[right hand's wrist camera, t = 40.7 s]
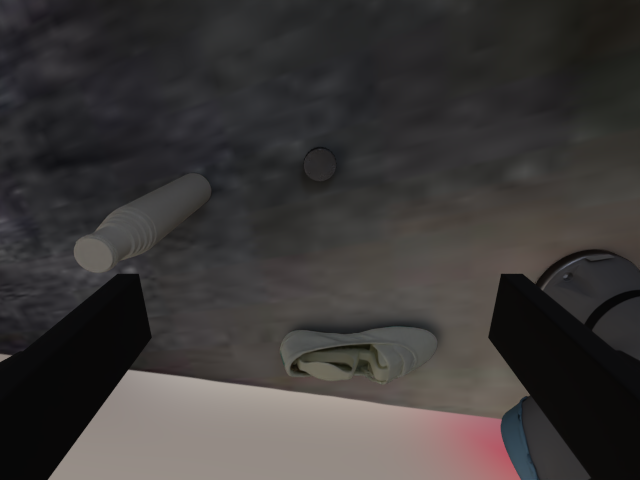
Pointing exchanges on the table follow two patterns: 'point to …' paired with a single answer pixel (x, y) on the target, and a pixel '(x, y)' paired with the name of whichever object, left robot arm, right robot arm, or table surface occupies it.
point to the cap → (320, 164)
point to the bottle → (141, 223)
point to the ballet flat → (357, 353)
